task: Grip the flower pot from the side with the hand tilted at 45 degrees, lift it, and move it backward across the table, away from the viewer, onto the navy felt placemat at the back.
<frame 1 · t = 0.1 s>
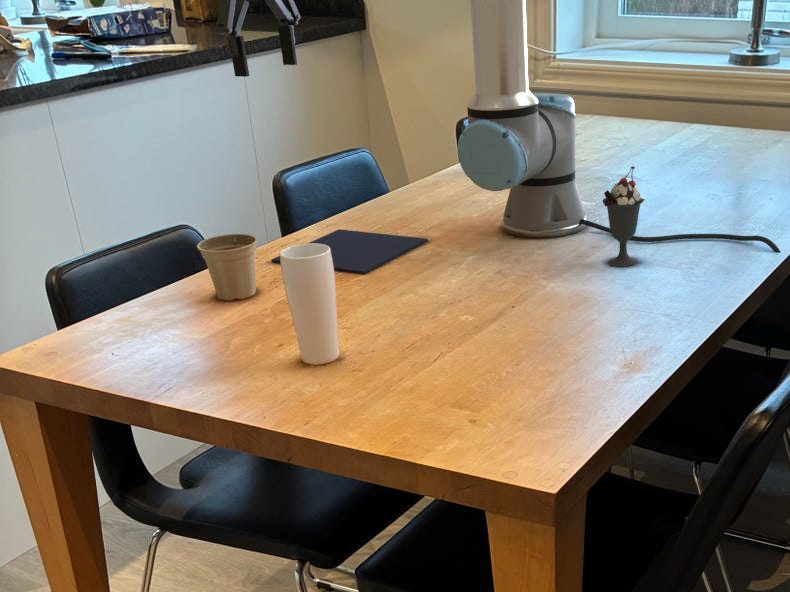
hand: (267, 70, 190), 28 cm above the table, tool pointing down, fingers open, 13 cm apart
sundae: (622, 263, 171), on the table
white vase: (321, 360, 142), on the table
placemat: (351, 251, 185), on the table
flower pot: (237, 296, 168), on the table
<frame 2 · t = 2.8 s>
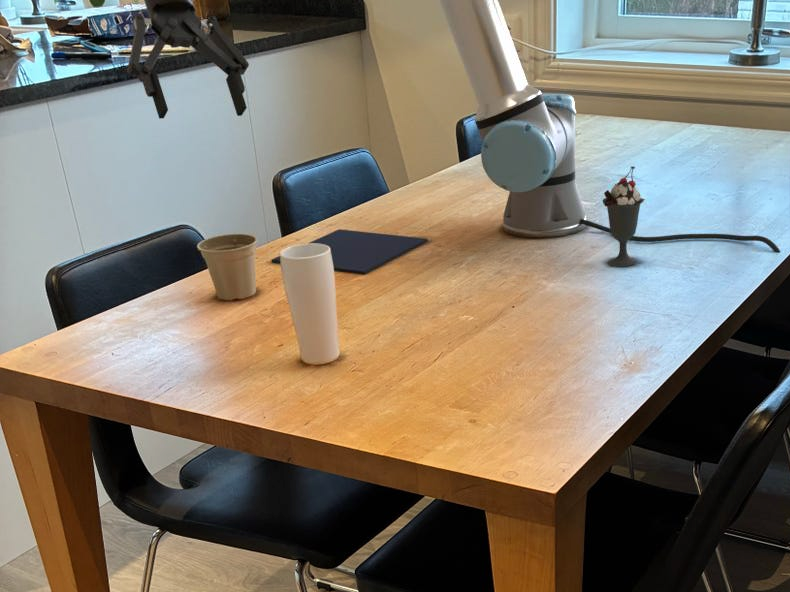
hand: (203, 113, 171), 25 cm above the table, tool tilted 35°, fingers open, 13 cm apart
nothing on the table moved.
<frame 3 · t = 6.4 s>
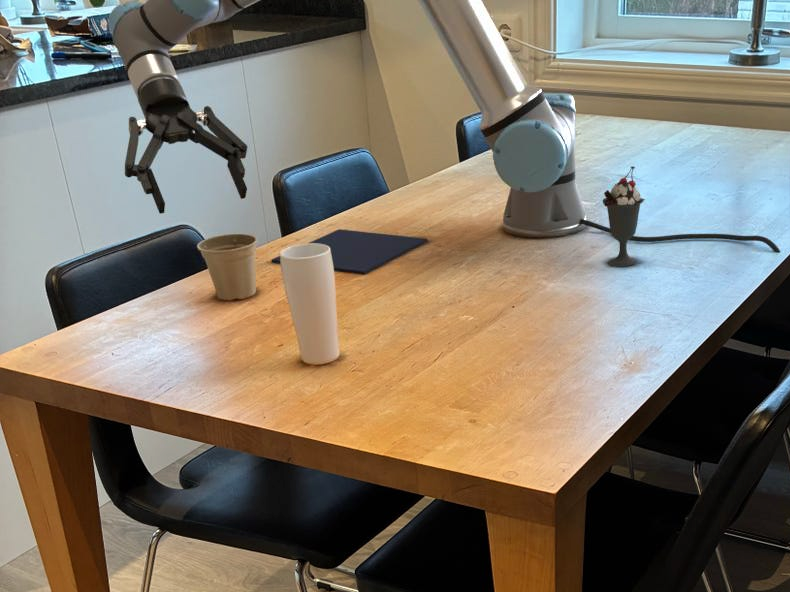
hand: (203, 201, 168), 13 cm above the table, tool tilted 45°, fingers open, 13 cm apart
nothing on the table moved.
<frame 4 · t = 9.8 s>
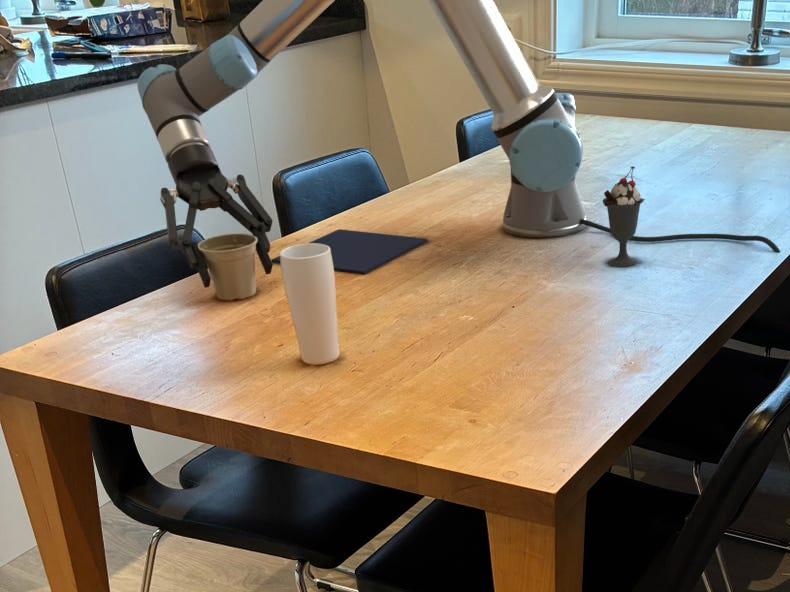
hand: (239, 276, 164), 4 cm above the table, tool tilted 45°, fingers closed on flower pot, 9 cm apart
flower pot: (237, 296, 168), on the table, touching gripper
everything else where it was.
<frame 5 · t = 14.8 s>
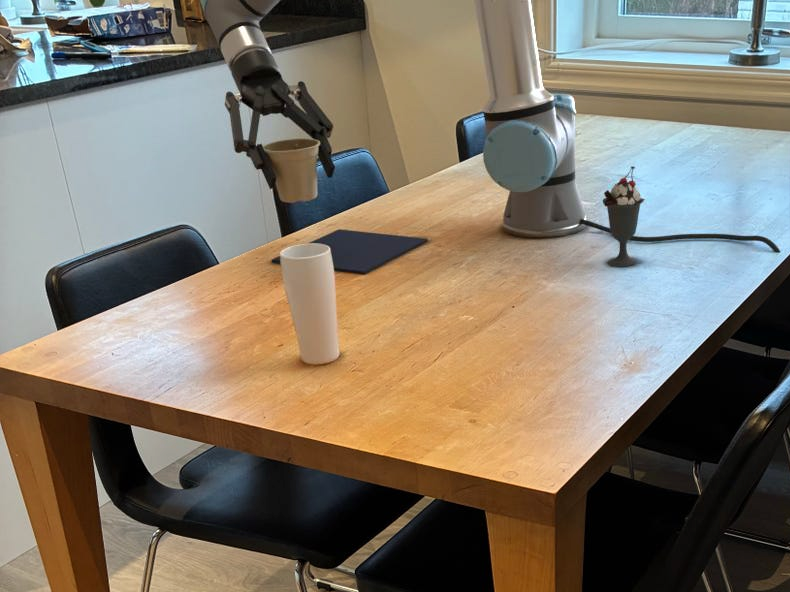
hand: (302, 177, 168), 16 cm above the table, tool tilted 45°, fingers closed on flower pot, 9 cm apart
flower pot: (299, 199, 172), point 12 cm above the table, touching gripper
everything else where it was.
when the fingers open (4 cm above the table, at t = 19.8 s): flower pot stays where it is, resting on placemat.
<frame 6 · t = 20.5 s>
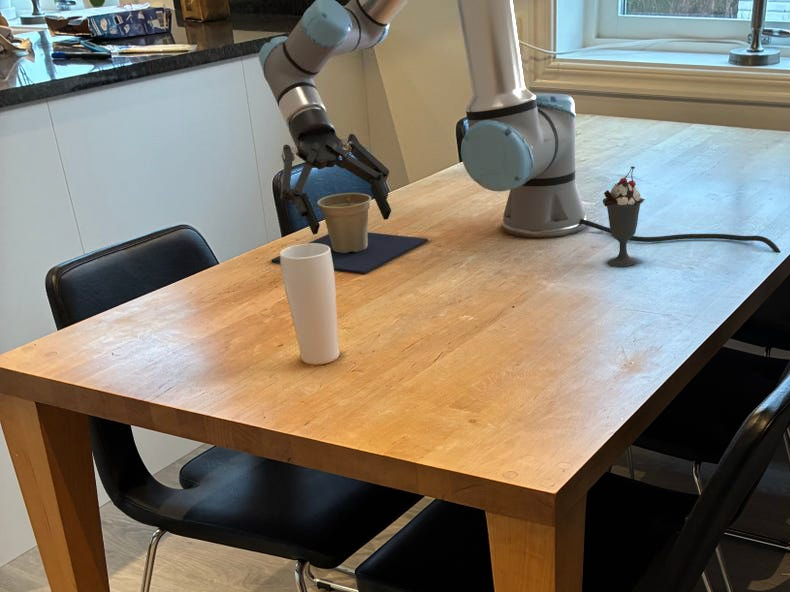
hand: (352, 222, 181), 6 cm above the table, tool tilted 45°, fingers open, 13 cm apart
flower pot: (350, 249, 185), resting on placemat
everything else where it was.
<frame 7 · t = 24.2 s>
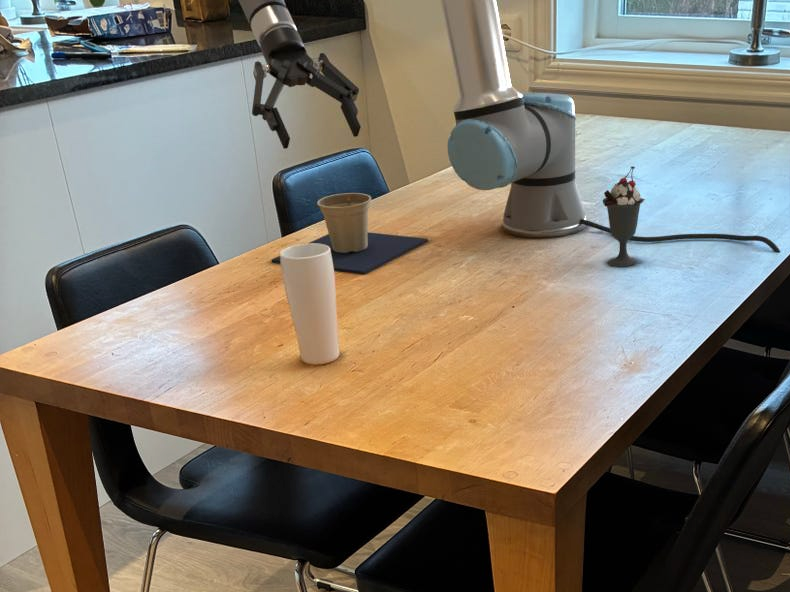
hand: (322, 137, 185), 18 cm above the table, tool tilted 45°, fingers open, 13 cm apart
nothing on the table moved.
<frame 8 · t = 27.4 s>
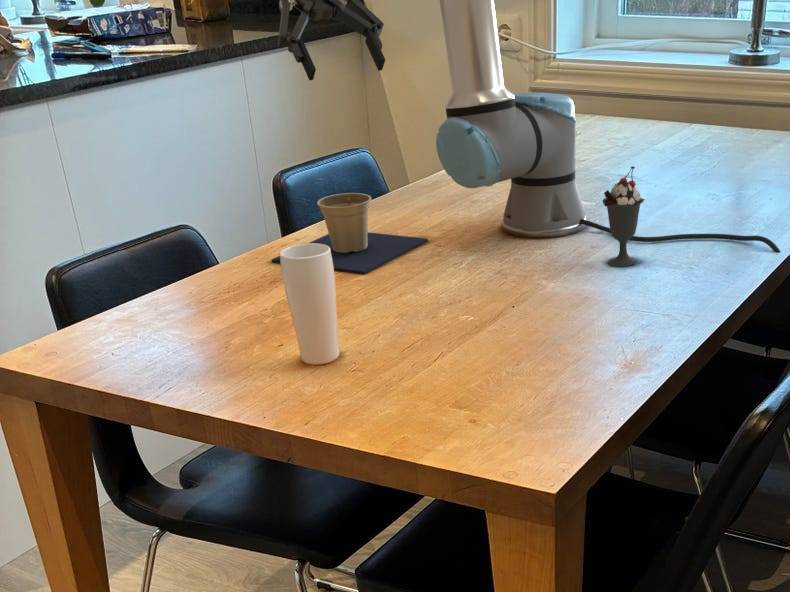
hand: (347, 70, 186), 28 cm above the table, tool tilted 45°, fingers open, 13 cm apart
nothing on the table moved.
at the end: flower pot inside the target area (0.1 cm from its centre), resting on placemat; flower pot tilted 0°; the gripper is holding nothing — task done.
